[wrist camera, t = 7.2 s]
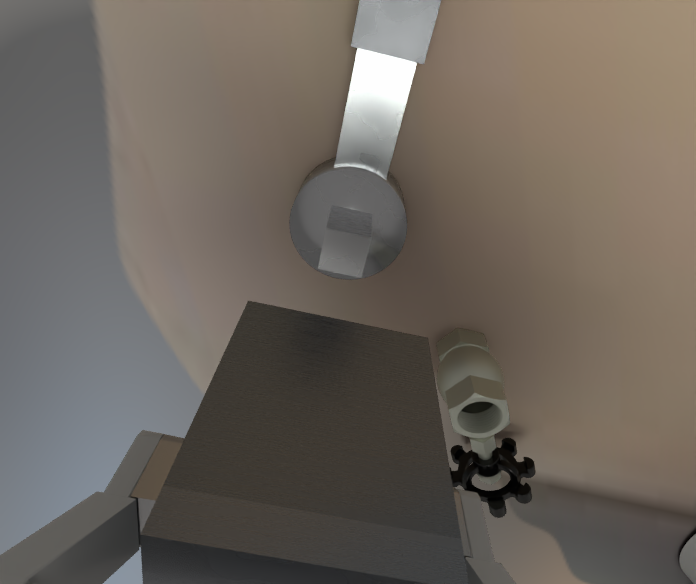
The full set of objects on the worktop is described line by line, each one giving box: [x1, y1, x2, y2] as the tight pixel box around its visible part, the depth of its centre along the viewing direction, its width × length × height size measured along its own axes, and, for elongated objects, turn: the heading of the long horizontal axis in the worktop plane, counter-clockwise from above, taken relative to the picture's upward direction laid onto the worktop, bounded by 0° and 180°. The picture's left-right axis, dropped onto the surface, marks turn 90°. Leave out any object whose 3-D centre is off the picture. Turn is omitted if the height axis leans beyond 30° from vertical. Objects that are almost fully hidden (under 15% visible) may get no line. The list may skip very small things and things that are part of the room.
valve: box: [436, 328, 535, 518], centre depth 31 cm, size 7×7×12 cm
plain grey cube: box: [140, 301, 469, 584], centre depth 11 cm, size 5×5×6 cm
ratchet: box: [290, 0, 441, 280], centre depth 21 cm, size 6×20×6 cm, turn 168°
